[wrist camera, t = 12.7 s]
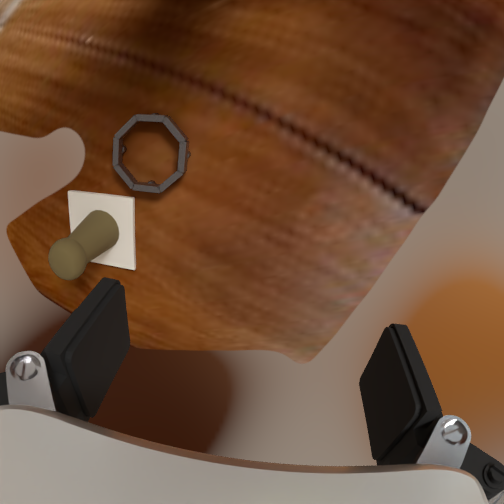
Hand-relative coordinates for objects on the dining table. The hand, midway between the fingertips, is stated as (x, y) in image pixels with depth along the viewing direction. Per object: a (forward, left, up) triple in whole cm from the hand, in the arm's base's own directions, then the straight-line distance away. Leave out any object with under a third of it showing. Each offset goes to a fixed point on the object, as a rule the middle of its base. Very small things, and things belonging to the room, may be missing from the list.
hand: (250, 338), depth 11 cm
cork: (+12, -23, -30) cm, 39 cm away
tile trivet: (+12, -23, -30) cm, 40 cm away
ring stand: (0, -15, -30) cm, 34 cm away
